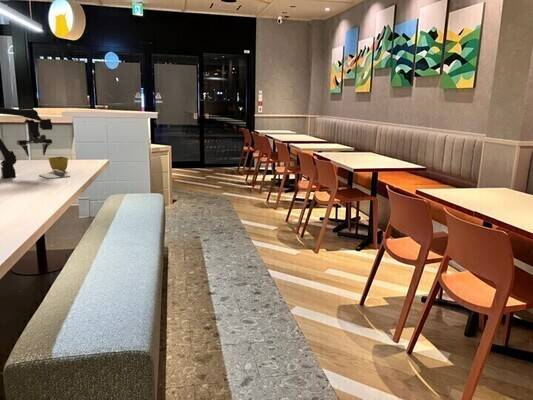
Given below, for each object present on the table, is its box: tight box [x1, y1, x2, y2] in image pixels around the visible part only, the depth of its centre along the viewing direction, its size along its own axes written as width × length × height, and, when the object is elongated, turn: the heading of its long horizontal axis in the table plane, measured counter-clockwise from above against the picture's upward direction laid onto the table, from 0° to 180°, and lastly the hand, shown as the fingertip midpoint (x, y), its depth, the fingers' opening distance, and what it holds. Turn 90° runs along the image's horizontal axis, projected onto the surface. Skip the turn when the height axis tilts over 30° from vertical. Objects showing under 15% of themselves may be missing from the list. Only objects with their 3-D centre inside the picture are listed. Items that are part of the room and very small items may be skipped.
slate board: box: [38, 172, 71, 180], centre depth 268 cm, size 13×15×1 cm
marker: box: [52, 169, 65, 176], centre depth 271 cm, size 2×12×2 cm, turn 45°
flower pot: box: [48, 156, 69, 172], centre depth 285 cm, size 9×9×9 cm
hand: (36, 155), depth 269 cm, fingers open, 9 cm apart
